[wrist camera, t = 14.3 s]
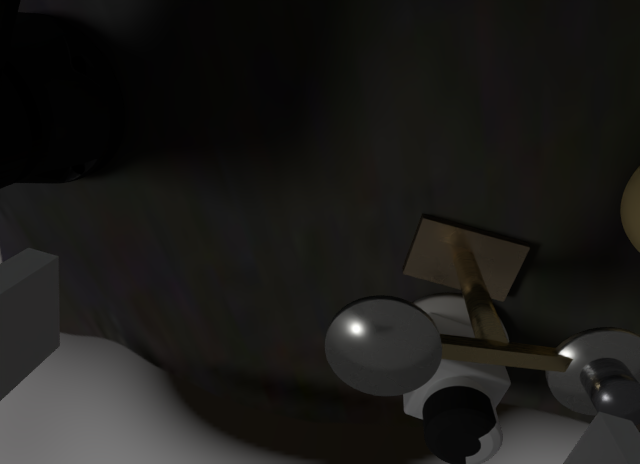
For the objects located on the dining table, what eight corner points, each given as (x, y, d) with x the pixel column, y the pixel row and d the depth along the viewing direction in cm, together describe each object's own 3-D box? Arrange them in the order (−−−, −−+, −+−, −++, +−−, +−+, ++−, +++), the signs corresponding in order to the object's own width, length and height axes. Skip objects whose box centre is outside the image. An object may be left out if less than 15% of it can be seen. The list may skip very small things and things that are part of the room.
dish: (375, 369, 50) (375, 376, 49) (409, 279, 45) (409, 284, 44) (480, 399, 49) (482, 407, 48) (526, 311, 44) (529, 318, 43)
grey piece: (401, 363, 47) (404, 459, 37) (427, 310, 45) (439, 397, 34) (464, 385, 47) (487, 488, 36) (495, 333, 44) (529, 429, 34)
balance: (341, 255, 45) (313, 377, 29) (359, 191, 42) (341, 286, 26) (560, 316, 44) (660, 478, 28) (594, 255, 41) (729, 396, 25)
